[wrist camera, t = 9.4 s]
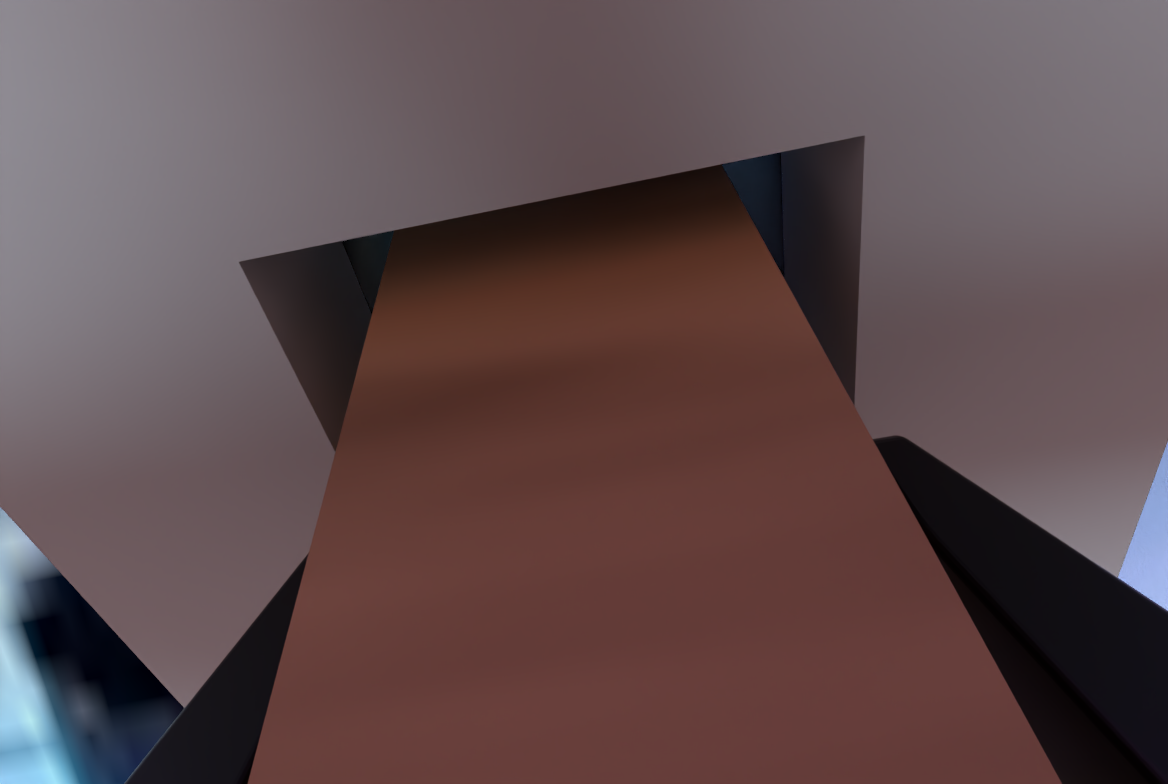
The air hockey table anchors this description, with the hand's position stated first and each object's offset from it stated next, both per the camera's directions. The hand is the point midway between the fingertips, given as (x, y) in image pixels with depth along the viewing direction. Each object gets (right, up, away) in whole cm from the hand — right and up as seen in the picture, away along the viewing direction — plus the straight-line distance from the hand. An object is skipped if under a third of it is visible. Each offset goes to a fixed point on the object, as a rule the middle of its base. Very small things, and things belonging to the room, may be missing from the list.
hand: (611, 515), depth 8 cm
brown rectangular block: (0, +3, +3) cm, 4 cm away
